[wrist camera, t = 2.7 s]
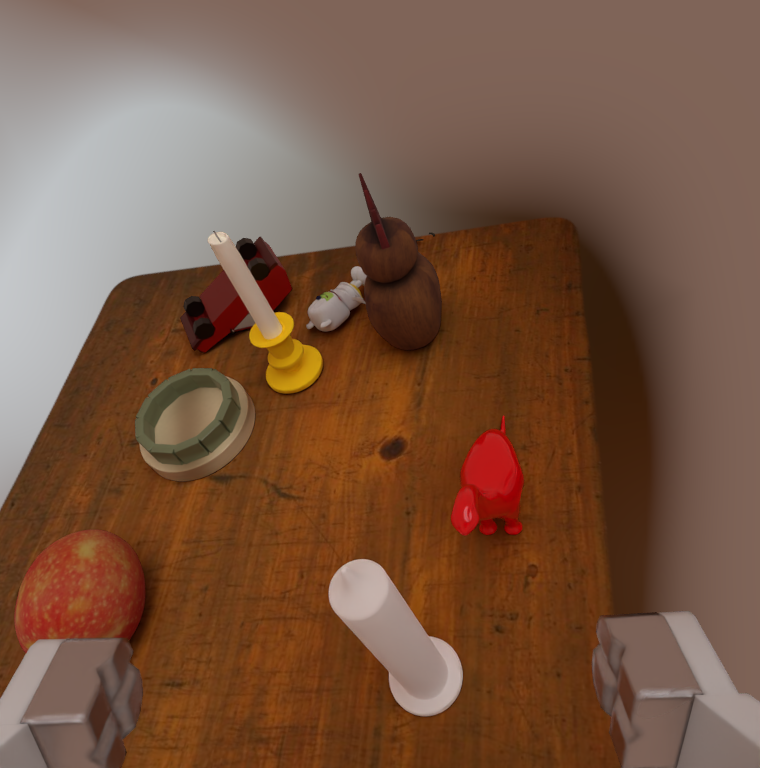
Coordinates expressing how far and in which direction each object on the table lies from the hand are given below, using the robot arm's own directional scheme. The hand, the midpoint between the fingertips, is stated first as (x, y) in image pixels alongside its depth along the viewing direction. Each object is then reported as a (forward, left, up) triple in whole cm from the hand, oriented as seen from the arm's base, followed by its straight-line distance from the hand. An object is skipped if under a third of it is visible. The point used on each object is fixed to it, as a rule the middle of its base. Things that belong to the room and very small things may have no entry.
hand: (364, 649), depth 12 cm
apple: (+23, -21, -29) cm, 43 cm away
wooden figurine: (-5, -36, -29) cm, 47 cm away
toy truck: (+10, -47, -24) cm, 54 cm away
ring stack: (+15, -35, -29) cm, 48 cm away
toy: (-11, -47, -27) cm, 55 cm away
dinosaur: (-6, -17, -29) cm, 34 cm away
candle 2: (+3, -9, -29) cm, 31 cm away
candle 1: (+5, -37, -29) cm, 47 cm away
